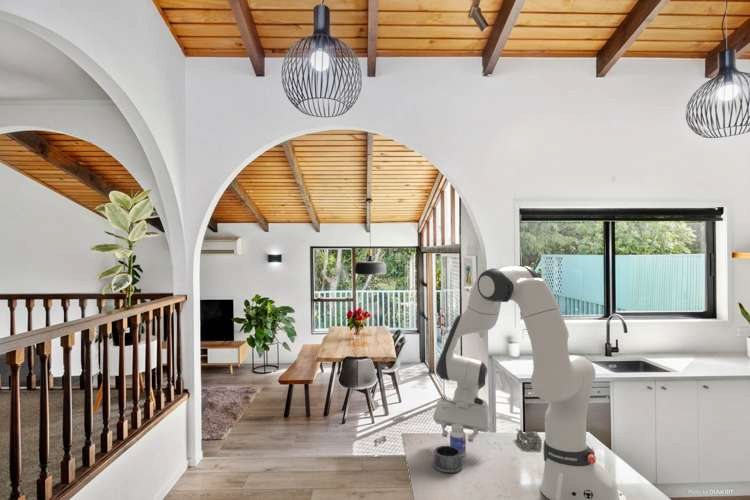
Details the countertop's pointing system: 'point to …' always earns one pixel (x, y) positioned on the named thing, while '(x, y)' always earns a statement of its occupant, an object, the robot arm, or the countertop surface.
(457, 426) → the pill bottle
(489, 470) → the countertop surface
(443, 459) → the cup holder
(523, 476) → the countertop surface
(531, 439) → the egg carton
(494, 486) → the countertop surface
